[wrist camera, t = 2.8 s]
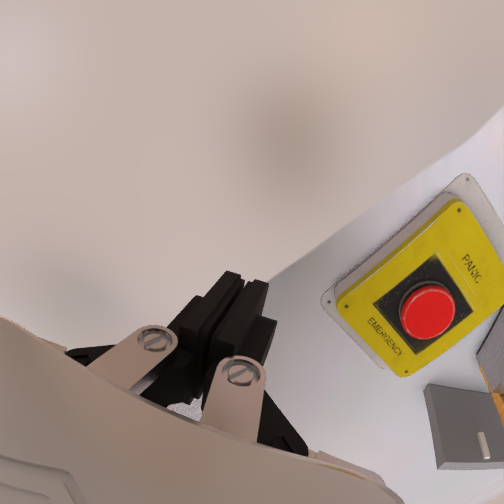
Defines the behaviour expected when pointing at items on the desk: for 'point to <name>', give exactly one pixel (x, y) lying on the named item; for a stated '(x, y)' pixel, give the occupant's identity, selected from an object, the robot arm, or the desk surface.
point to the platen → (494, 363)
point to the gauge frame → (464, 429)
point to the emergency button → (425, 282)
